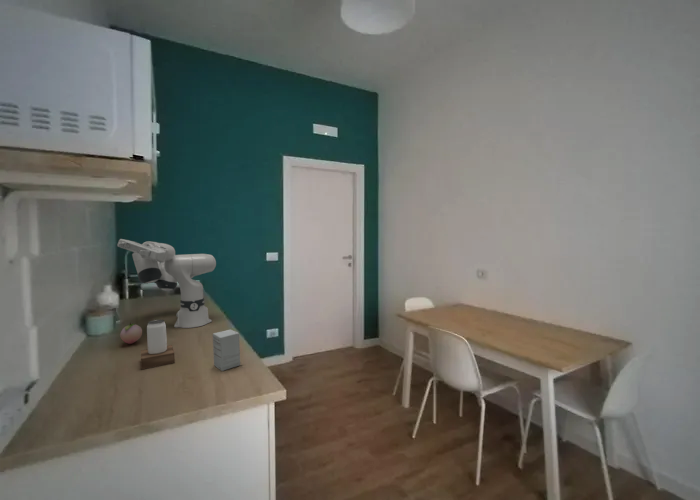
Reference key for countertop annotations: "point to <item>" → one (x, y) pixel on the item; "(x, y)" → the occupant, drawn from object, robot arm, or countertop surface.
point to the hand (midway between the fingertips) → (129, 248)
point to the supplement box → (226, 349)
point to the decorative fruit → (131, 333)
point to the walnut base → (157, 358)
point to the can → (156, 337)
